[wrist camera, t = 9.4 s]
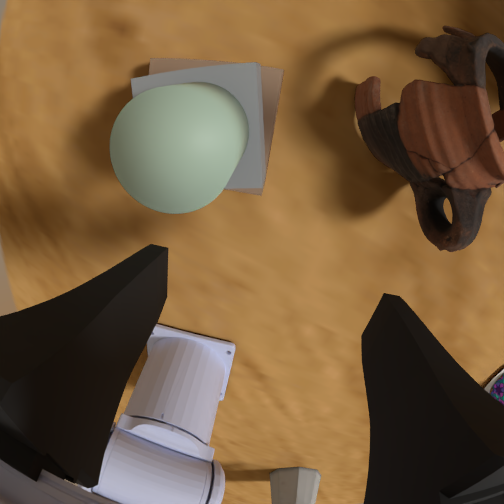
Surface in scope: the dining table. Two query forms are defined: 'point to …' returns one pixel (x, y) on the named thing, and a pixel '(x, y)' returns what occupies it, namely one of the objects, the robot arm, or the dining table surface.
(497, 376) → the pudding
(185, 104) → the green cylinder
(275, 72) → the tower base
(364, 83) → the pottery mug
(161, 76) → the tower top
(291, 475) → the coffee maker
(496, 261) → the dining table surface
